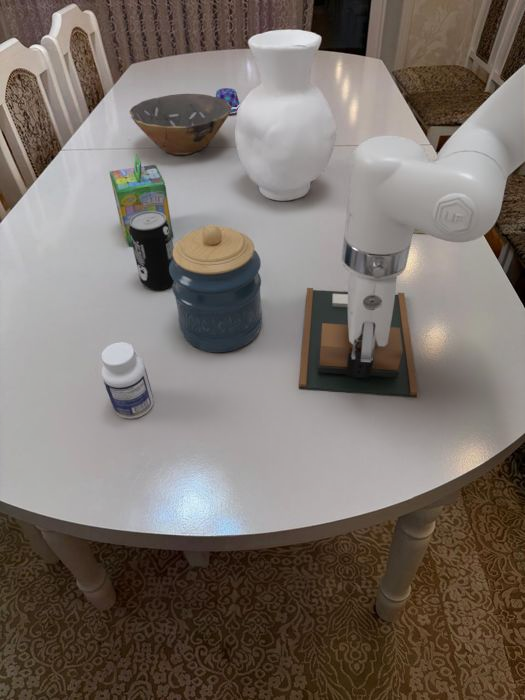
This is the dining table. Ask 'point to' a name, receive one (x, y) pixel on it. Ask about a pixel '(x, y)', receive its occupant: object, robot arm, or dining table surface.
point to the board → (311, 379)
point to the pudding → (229, 97)
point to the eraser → (338, 348)
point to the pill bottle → (126, 380)
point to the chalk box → (139, 193)
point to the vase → (284, 117)
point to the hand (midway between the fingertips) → (357, 360)
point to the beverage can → (152, 248)
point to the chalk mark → (340, 300)
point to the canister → (217, 288)
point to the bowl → (181, 121)
